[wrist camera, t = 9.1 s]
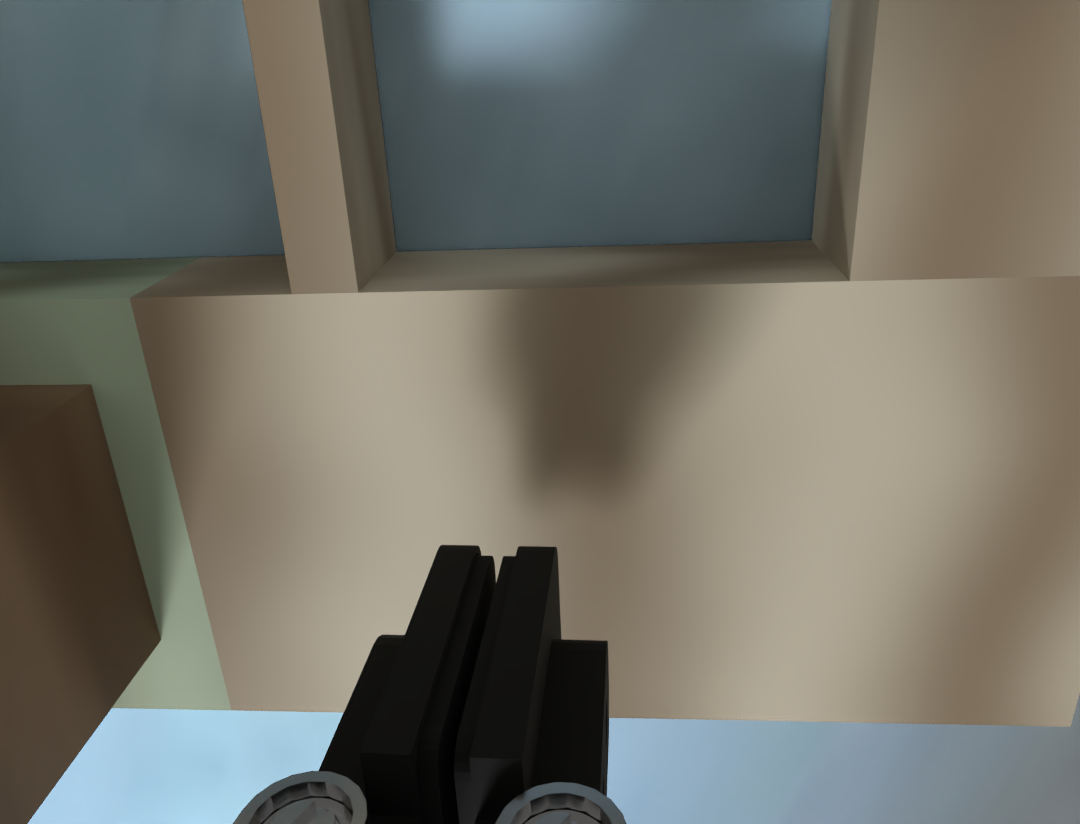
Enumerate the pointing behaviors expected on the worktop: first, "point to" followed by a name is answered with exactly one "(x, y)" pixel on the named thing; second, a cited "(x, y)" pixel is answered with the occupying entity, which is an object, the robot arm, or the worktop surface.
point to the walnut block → (61, 589)
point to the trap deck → (625, 403)
